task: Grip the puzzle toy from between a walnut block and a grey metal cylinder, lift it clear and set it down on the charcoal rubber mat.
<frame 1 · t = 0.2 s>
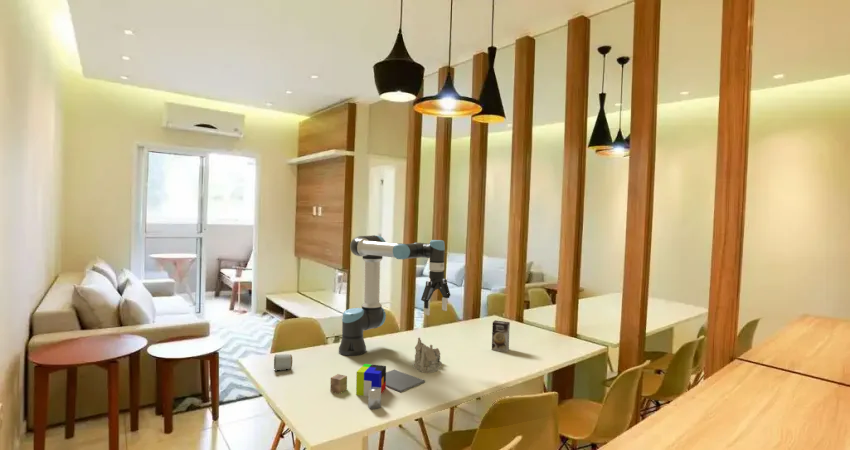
hand: (435, 312, 214), 28 cm above the table, tool pointing down, fingers open, 13 cm apart
grey metal cylinder: (374, 406, 169), on the table
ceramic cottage: (429, 367, 216), on the table
charcoal mat: (397, 381, 195), on the table
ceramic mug: (282, 369, 208), on the table
puzzle toy: (371, 392, 183), on the table
coffee box: (500, 349, 246), on the table
walnut block: (338, 390, 184), on the table
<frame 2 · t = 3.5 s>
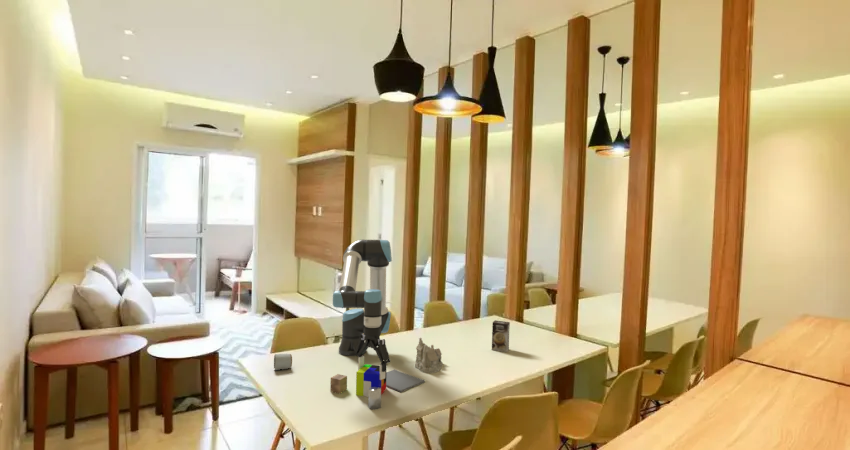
hand: (371, 375, 183), 7 cm above the table, tool pointing down, fingers open, 13 cm apart
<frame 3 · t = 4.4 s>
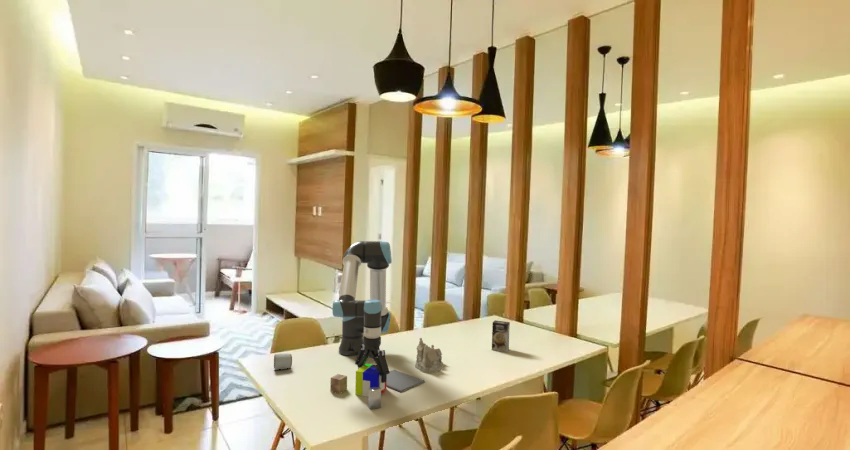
hand: (371, 385, 183), 3 cm above the table, tool pointing down, fingers closed on puzzle toy, 12 cm apart
puzzle toy: (371, 392, 183), on the table, touching gripper
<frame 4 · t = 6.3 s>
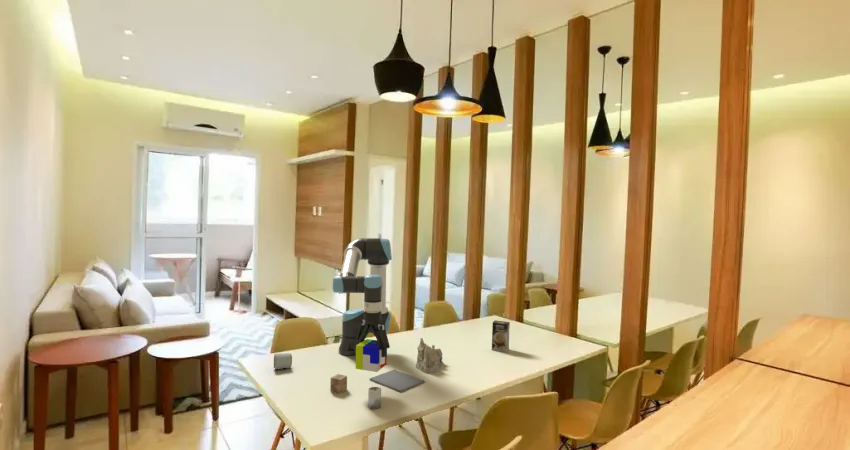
hand: (371, 360, 183), 13 cm above the table, tool pointing down, fingers closed on puzzle toy, 12 cm apart
puzzle toy: (371, 366, 183), point 11 cm above the table, touching gripper
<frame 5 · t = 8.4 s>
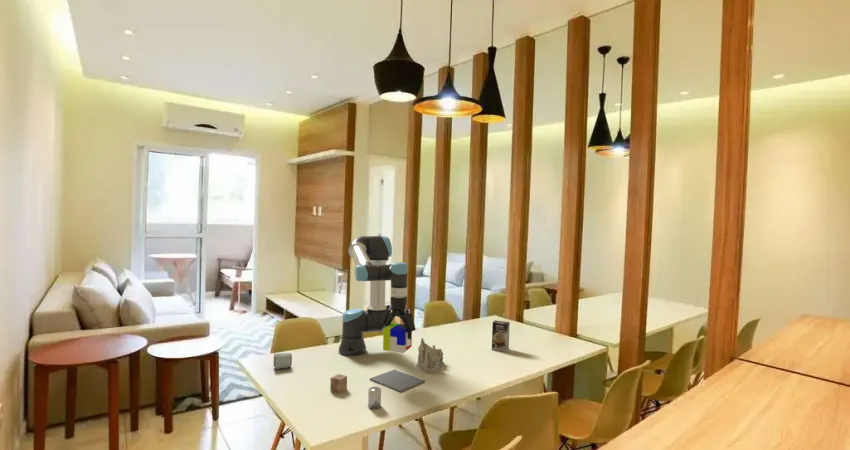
hand: (397, 342, 195), 18 cm above the table, tool pointing down, fingers closed on puzzle toy, 12 cm apart
puzzle toy: (397, 348, 195), point 15 cm above the table, touching gripper
when the fingers open (4 cm above the table, at t = 11.4 s): puzzle toy stays where it is, resting on charcoal mat.
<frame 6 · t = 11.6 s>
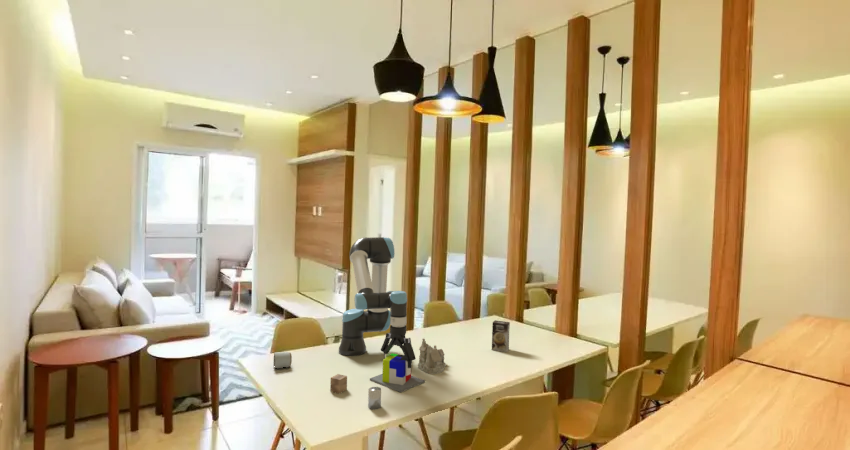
hand: (397, 371, 195), 5 cm above the table, tool pointing down, fingers open, 13 cm apart
puzzle toy: (396, 379, 195), point 1 cm above the table, touching charcoal mat
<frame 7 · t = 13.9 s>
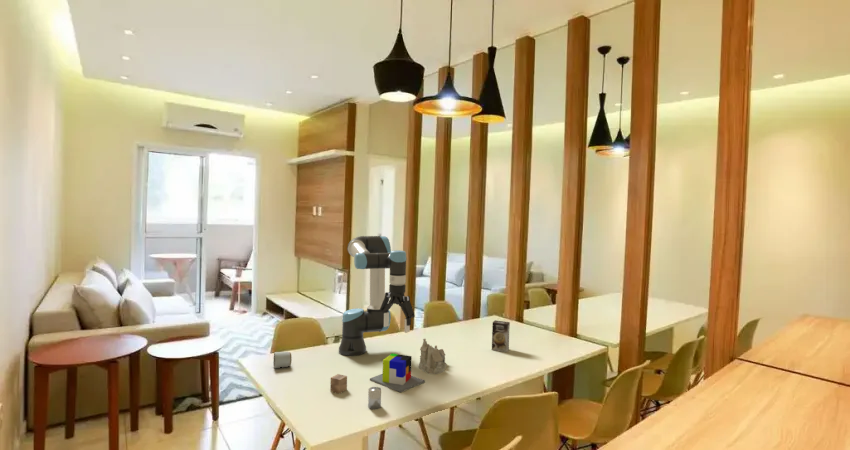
hand: (396, 329, 197), 23 cm above the table, tool pointing down, fingers open, 13 cm apart
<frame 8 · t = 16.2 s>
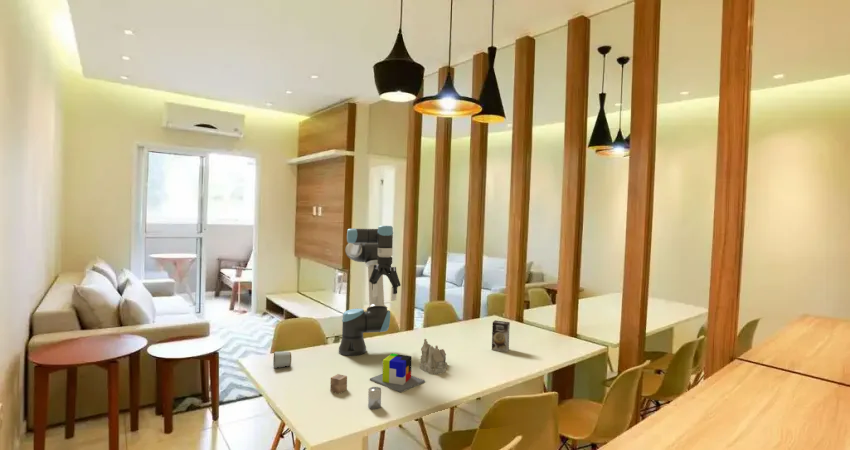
hand: (384, 298, 213), 35 cm above the table, tool pointing down, fingers open, 13 cm apart
at the end: puzzle toy inside the target area on the charcoal mat (0.2 cm from its centre), point 0.6 cm above the charcoal mat's base; puzzle toy tilted 0°; the gripper is holding nothing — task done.
